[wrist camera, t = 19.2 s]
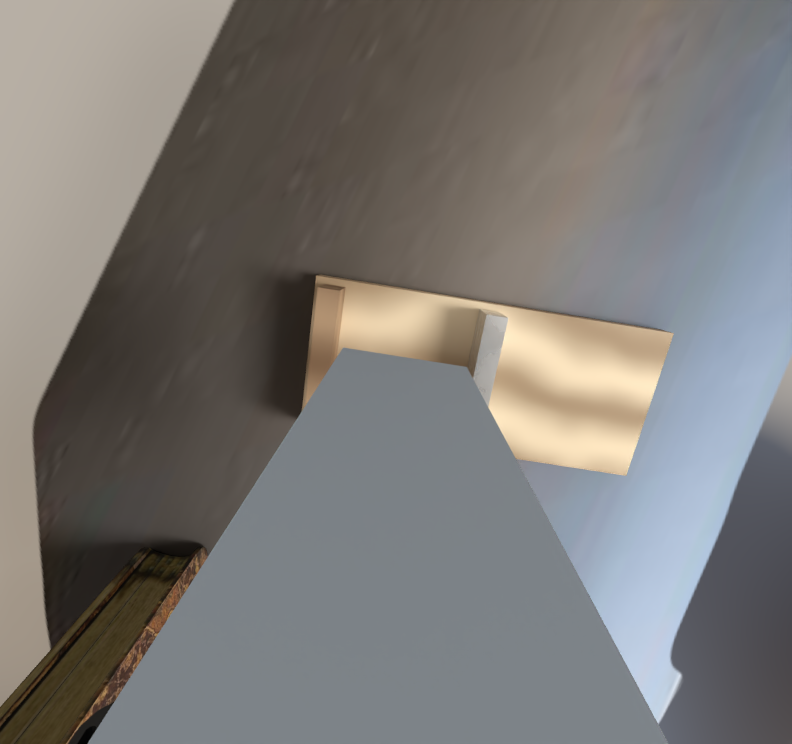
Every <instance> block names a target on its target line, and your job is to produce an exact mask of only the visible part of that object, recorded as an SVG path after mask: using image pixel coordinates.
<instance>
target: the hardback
mask: <svg viewBox="0 0 792 744" xmlns="http://www.w3.org/2000/svg"><path fill="white" fill-rule="evenodd" d="M88 744H668V742H667V740H666V738H665V736H664V734H663V733H662V731H661V729H660V727H659V725H658V723H657V721H656V719H655V718H654V716H653V714H652V712H651V710H650V708H649V706H648V704H647V703H646V701H645V699H644V697H643V695H642V693H641V691H640V690H639V688H638V686H637V684H636V682H635V680H634V678H633V676H632V675H631V673H630V671H629V669H628V667H627V665H626V663H625V662H624V660H623V658H622V656H621V654H620V652H619V650H618V648H617V647H616V645H615V643H614V641H613V639H612V637H611V635H610V634H609V632H608V630H607V628H606V626H605V624H604V622H603V620H602V619H601V617H600V615H599V613H598V611H597V609H596V607H595V606H594V604H593V602H592V600H591V598H590V596H589V594H588V592H587V591H586V589H585V587H584V585H583V583H582V581H581V579H580V578H579V576H578V574H577V572H576V570H575V568H574V566H573V564H572V563H571V561H570V559H569V557H568V555H567V553H566V551H565V550H564V548H563V546H562V544H561V542H560V540H559V538H558V536H557V535H556V533H555V531H554V529H553V527H552V525H551V523H550V522H549V520H548V518H547V516H546V514H545V512H544V510H543V508H542V507H541V505H540V503H539V501H538V499H537V497H536V495H535V494H534V492H533V490H532V488H531V486H530V484H529V482H528V480H527V479H526V477H525V475H524V473H523V471H522V469H521V467H520V466H519V464H518V462H517V460H516V458H515V456H514V454H513V452H512V451H511V449H510V447H509V445H508V443H507V441H506V439H505V438H504V436H503V434H502V432H501V430H500V428H499V426H498V424H497V423H496V421H495V419H494V417H493V415H492V413H491V411H490V410H489V408H488V406H487V404H486V402H485V400H484V398H483V396H482V395H481V393H480V391H479V389H478V387H477V385H476V383H475V382H474V380H473V378H472V376H471V374H470V372H469V370H468V368H467V367H464V366H458V365H451V364H445V363H439V362H432V361H426V360H419V359H413V358H407V357H400V356H394V355H388V354H381V353H375V352H369V351H362V350H356V349H349V348H342V350H341V352H340V353H339V355H338V356H337V358H336V359H335V361H334V362H333V364H332V365H331V367H330V369H329V370H328V372H327V373H326V375H325V376H324V378H323V379H322V381H321V383H320V384H319V386H318V387H317V389H316V390H315V392H314V393H313V395H312V396H311V398H310V400H309V401H308V403H307V404H306V406H305V407H304V409H303V410H302V412H301V414H300V415H299V417H298V418H297V420H296V421H295V423H294V424H293V426H292V427H291V429H290V431H289V432H288V434H287V435H286V437H285V438H284V440H283V441H282V443H281V444H280V446H279V448H278V449H277V451H276V452H275V454H274V455H273V457H272V458H271V460H270V462H269V463H268V465H267V466H266V468H265V469H264V471H263V472H262V474H261V475H260V477H259V479H258V480H257V482H256V483H255V485H254V486H253V488H252V489H251V491H250V493H249V494H248V496H247V497H246V499H245V500H244V502H243V503H242V505H241V506H240V508H239V510H238V511H237V513H236V514H235V516H234V517H233V519H232V520H231V522H230V524H229V525H228V527H227V528H226V530H225V531H224V533H223V534H222V536H221V537H220V539H219V541H218V542H217V544H216V545H215V547H214V548H213V550H212V551H211V553H210V555H209V556H208V558H207V559H206V561H205V562H204V564H203V565H202V567H201V568H200V570H199V572H198V573H197V575H196V576H195V578H194V579H193V581H192V582H191V584H190V586H189V587H188V589H187V590H186V592H185V593H184V595H183V596H182V598H181V599H180V601H179V603H178V604H177V606H176V607H175V609H174V610H173V612H172V613H171V615H170V617H169V618H168V620H167V621H166V623H165V624H164V626H163V627H162V629H161V630H160V632H159V634H158V635H157V637H156V638H155V640H154V641H153V643H152V644H151V646H150V647H149V649H148V651H147V652H146V654H145V655H144V657H143V658H142V660H141V661H140V663H139V665H138V666H137V668H136V669H135V671H134V672H133V674H132V675H131V677H130V678H129V680H128V682H127V683H126V685H125V686H124V688H123V689H122V691H121V692H120V694H119V696H118V697H117V699H116V700H115V702H114V703H113V705H112V706H111V708H110V709H109V711H108V713H107V714H106V716H105V717H104V719H103V720H102V722H101V723H100V725H99V727H98V728H97V730H96V731H95V733H94V734H93V736H92V737H91V739H90V740H89V742H88Z"/></svg>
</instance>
